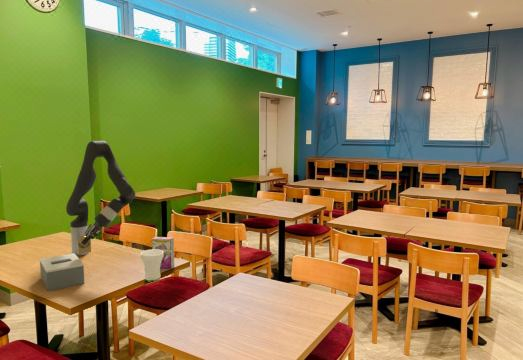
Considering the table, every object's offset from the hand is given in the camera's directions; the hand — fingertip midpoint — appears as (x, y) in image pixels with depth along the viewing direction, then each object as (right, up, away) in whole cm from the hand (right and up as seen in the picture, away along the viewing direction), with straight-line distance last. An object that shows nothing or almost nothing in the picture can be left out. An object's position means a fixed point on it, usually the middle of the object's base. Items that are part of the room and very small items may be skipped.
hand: (82, 243), depth 195 cm
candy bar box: (+37, -16, +17) cm, 44 cm away
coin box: (-8, -18, -4) cm, 20 cm away
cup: (+36, -19, -1) cm, 41 cm away
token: (+1, -5, +1) cm, 5 cm away
